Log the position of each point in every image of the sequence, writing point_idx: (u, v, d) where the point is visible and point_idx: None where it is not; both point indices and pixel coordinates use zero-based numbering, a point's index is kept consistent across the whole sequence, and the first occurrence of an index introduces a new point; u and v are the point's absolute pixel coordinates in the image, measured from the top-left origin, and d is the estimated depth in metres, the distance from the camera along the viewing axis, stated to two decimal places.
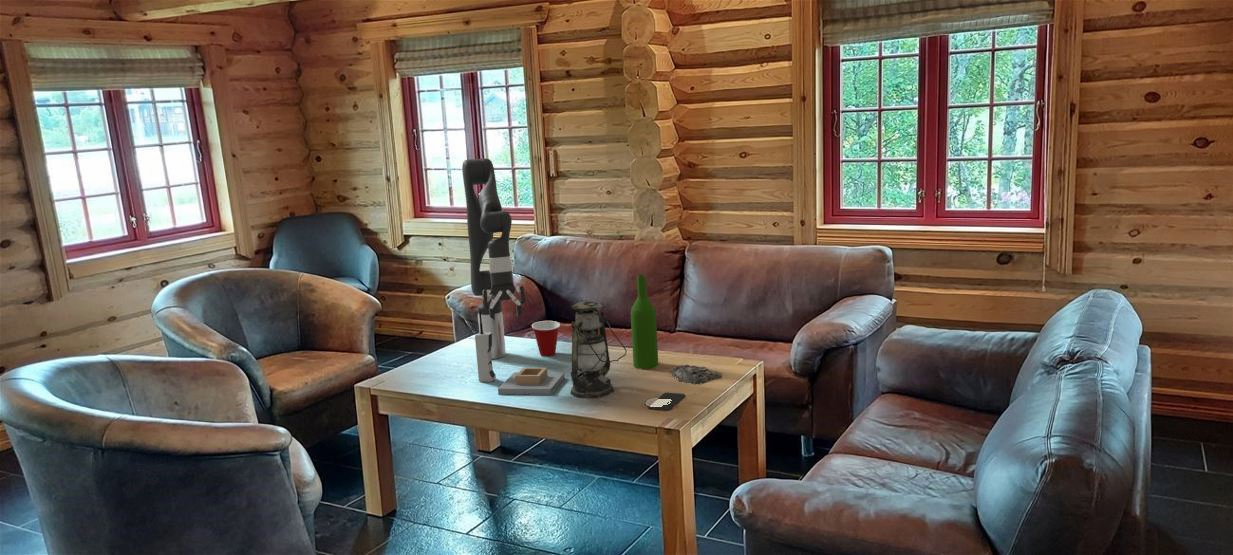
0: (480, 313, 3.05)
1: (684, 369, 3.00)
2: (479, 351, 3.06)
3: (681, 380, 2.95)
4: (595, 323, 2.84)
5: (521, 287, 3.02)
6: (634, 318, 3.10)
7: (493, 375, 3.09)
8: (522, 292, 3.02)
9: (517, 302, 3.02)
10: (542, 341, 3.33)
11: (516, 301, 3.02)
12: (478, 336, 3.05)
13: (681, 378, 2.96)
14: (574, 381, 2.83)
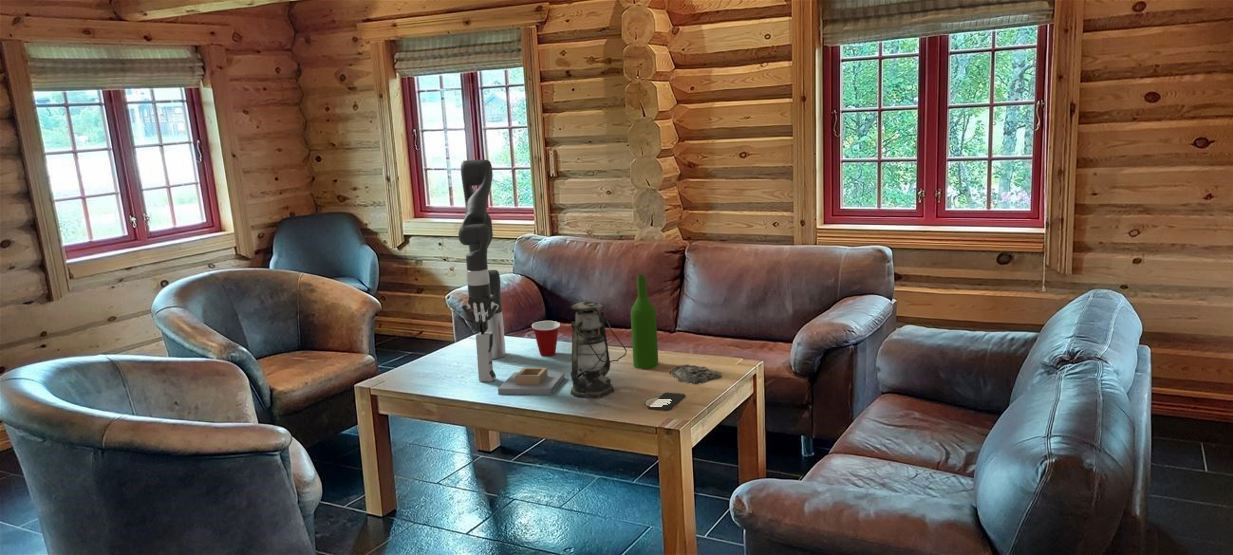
0: None
1: (684, 369, 3.00)
2: (480, 351, 3.06)
3: (681, 380, 2.96)
4: (595, 323, 2.84)
5: (494, 306, 3.02)
6: (634, 318, 3.10)
7: (493, 375, 3.09)
8: (492, 311, 3.03)
9: (483, 318, 3.04)
10: (542, 341, 3.33)
11: (483, 316, 3.04)
12: (479, 336, 3.05)
13: (681, 378, 2.97)
14: (574, 381, 2.83)
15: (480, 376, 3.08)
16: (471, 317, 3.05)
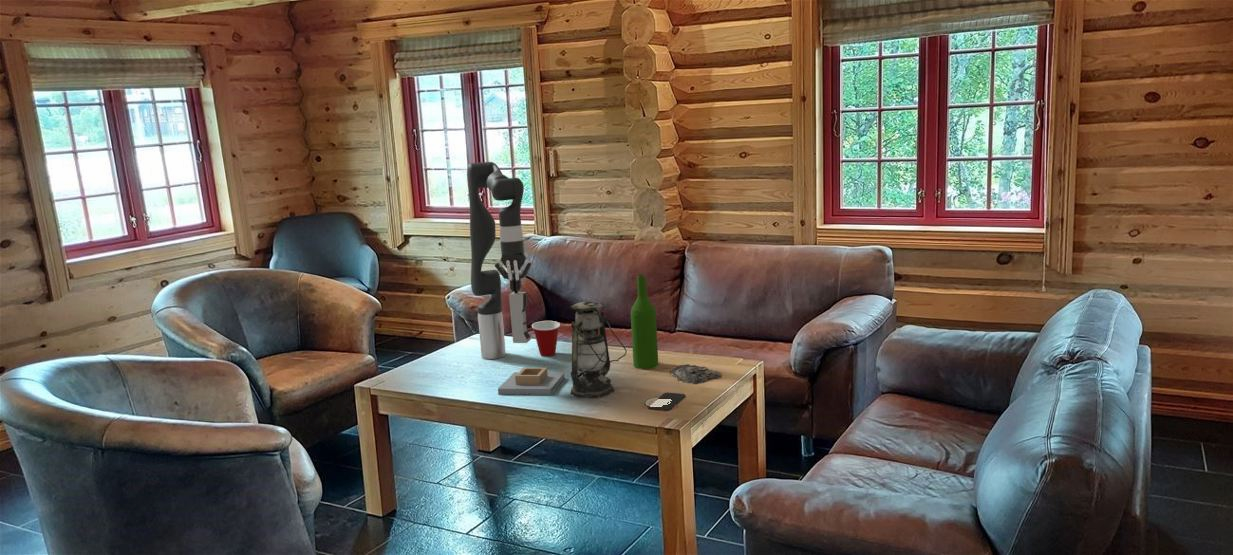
0: (514, 271, 2.94)
1: (684, 368, 3.00)
2: (513, 311, 2.95)
3: (680, 379, 2.96)
4: (595, 323, 2.84)
5: (528, 264, 2.91)
6: (634, 318, 3.10)
7: (528, 336, 2.98)
8: (526, 268, 2.92)
9: (516, 276, 2.93)
10: (542, 341, 3.33)
11: (516, 275, 2.93)
12: (512, 295, 2.94)
13: (680, 377, 2.97)
14: (574, 381, 2.83)
15: (514, 337, 2.96)
16: (504, 276, 2.94)
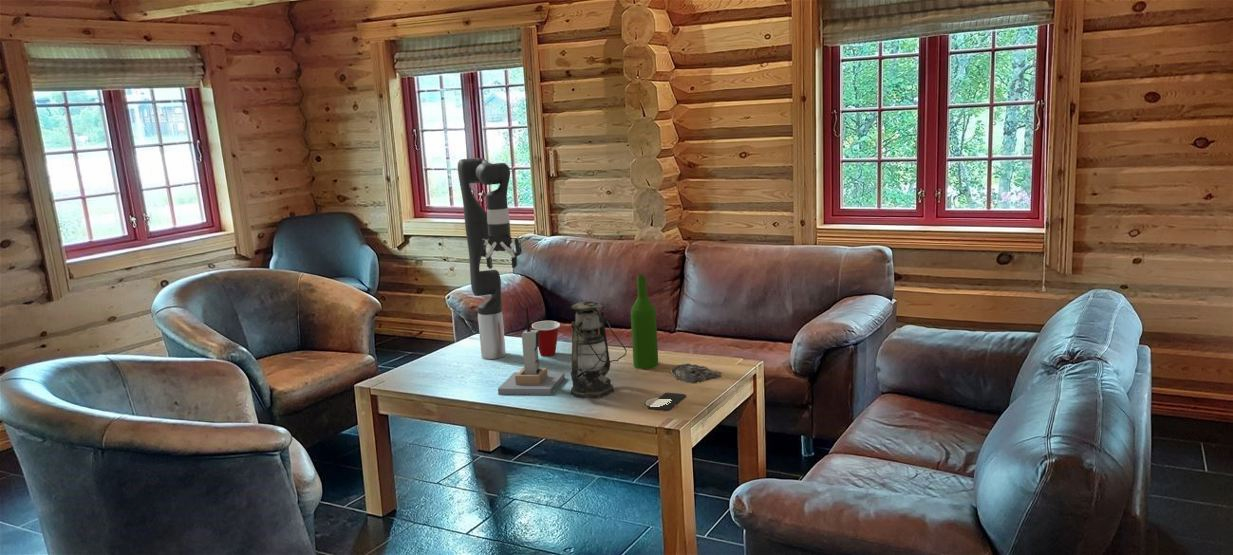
0: (527, 310, 2.96)
1: (684, 368, 3.01)
2: (526, 349, 2.97)
3: (679, 379, 2.97)
4: (595, 323, 2.84)
5: (515, 240, 3.05)
6: (634, 318, 3.10)
7: None
8: (516, 245, 3.05)
9: (511, 254, 3.06)
10: (542, 341, 3.33)
11: (510, 253, 3.06)
12: (525, 334, 2.96)
13: (680, 377, 2.98)
14: (574, 381, 2.83)
15: None
16: (482, 253, 3.08)
